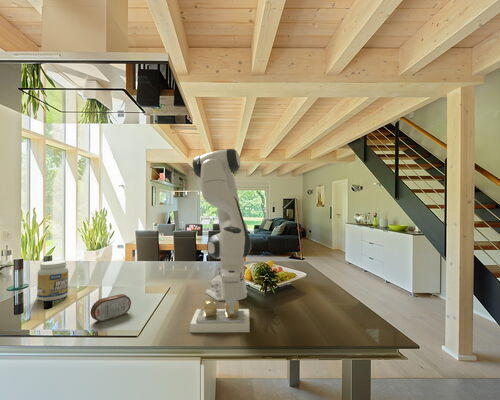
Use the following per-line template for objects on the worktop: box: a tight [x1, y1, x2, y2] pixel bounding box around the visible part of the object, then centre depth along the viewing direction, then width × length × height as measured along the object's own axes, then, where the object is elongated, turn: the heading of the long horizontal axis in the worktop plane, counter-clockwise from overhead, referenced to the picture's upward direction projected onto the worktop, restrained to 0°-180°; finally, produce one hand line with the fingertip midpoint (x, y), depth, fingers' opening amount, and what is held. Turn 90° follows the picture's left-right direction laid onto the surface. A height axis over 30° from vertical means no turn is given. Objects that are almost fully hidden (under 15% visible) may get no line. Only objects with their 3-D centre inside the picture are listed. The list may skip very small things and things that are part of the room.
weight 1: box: [202, 298, 218, 318], centre depth 105 cm, size 5×5×5 cm
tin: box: [90, 293, 132, 322], centre depth 113 cm, size 15×3×8 cm, turn 141°
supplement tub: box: [36, 259, 69, 302], centre depth 137 cm, size 12×12×17 cm
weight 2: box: [224, 300, 240, 318], centre depth 105 cm, size 5×5×5 cm
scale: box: [189, 308, 250, 333], centre depth 107 cm, size 21×14×4 cm, turn 91°
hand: (232, 308), depth 105 cm, fingers open, 8 cm apart
